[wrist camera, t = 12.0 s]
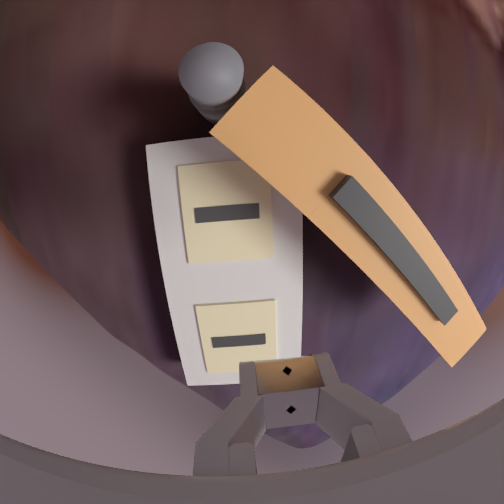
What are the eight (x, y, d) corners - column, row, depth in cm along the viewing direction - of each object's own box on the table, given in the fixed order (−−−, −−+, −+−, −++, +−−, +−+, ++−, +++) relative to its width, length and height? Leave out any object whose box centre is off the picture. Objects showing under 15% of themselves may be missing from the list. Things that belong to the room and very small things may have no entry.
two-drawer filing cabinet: (154, 96, 23) (124, 76, 16) (286, 85, 24) (308, 60, 16) (191, 362, 33) (183, 413, 25) (293, 354, 33) (307, 405, 26)
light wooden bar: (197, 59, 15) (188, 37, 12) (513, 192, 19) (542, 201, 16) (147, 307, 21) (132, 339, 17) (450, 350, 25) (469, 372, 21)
